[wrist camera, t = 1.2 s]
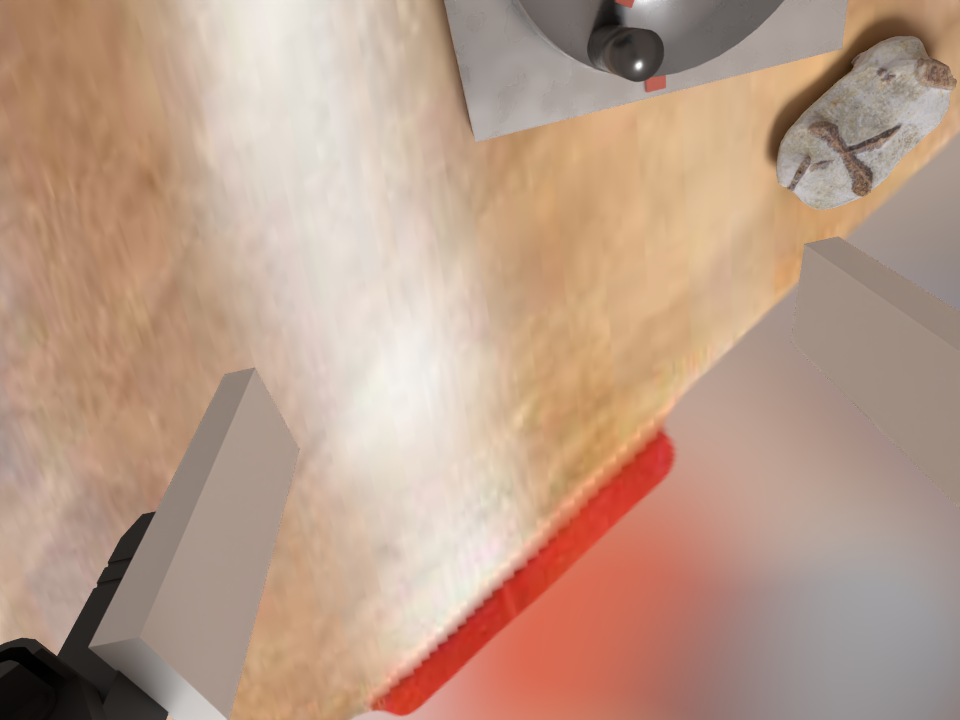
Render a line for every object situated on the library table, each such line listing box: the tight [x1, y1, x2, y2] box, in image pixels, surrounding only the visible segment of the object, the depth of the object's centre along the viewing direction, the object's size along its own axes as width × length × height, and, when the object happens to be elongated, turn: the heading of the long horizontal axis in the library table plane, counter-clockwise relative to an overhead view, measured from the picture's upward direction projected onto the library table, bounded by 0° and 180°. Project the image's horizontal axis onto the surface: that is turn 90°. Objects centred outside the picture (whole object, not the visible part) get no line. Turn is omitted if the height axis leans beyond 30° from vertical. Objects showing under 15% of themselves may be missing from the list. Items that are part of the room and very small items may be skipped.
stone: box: [776, 36, 957, 210], centre depth 33 cm, size 10×7×3 cm
